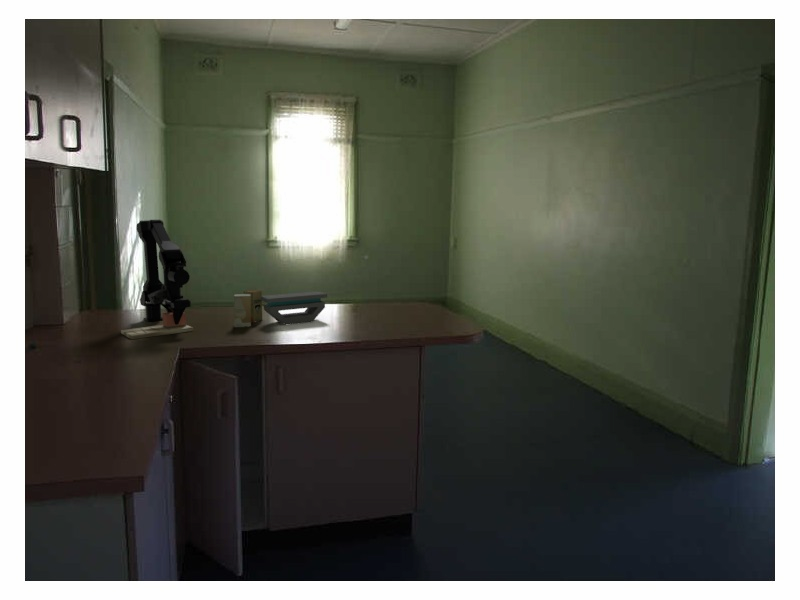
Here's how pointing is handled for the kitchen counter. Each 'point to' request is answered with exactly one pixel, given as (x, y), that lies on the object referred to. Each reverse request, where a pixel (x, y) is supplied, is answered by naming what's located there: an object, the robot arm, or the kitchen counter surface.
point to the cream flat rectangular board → (154, 331)
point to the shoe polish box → (255, 304)
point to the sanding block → (169, 320)
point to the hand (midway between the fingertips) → (174, 323)
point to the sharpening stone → (295, 306)
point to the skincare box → (242, 310)
